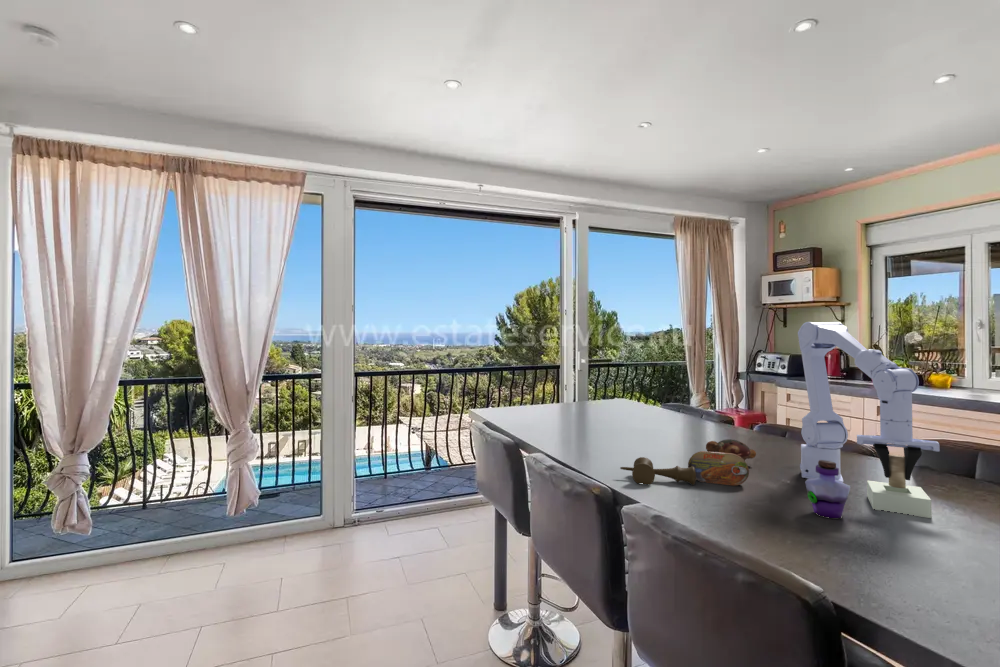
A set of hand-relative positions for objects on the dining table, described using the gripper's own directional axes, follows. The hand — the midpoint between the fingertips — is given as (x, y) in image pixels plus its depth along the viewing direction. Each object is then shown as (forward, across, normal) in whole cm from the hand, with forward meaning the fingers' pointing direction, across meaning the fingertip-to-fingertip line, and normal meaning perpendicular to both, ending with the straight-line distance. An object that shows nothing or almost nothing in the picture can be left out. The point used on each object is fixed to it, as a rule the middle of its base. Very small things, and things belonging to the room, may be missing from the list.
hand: (897, 477), depth 107 cm
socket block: (+7, 0, 0) cm, 7 cm away
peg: (+2, 0, 0) cm, 2 cm away
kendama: (+7, -53, -9) cm, 54 cm away
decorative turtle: (+7, -37, +18) cm, 42 cm away
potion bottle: (+7, -14, -14) cm, 21 cm away
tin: (+7, -38, -2) cm, 39 cm away
